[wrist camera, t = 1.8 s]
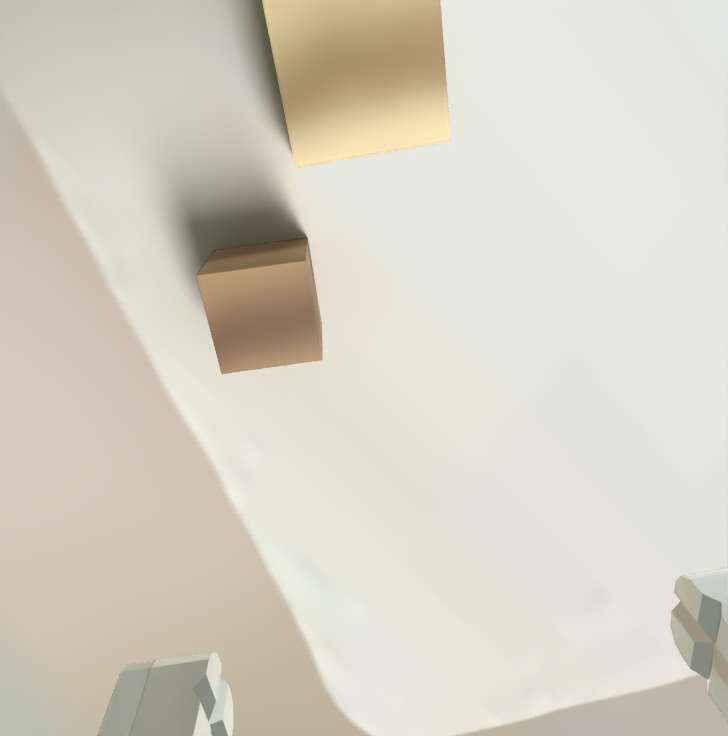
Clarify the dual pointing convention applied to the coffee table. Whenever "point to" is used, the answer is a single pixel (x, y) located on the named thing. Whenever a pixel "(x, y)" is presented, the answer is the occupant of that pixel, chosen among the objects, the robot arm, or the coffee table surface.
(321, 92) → the oak base block
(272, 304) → the walnut block
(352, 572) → the coffee table surface
